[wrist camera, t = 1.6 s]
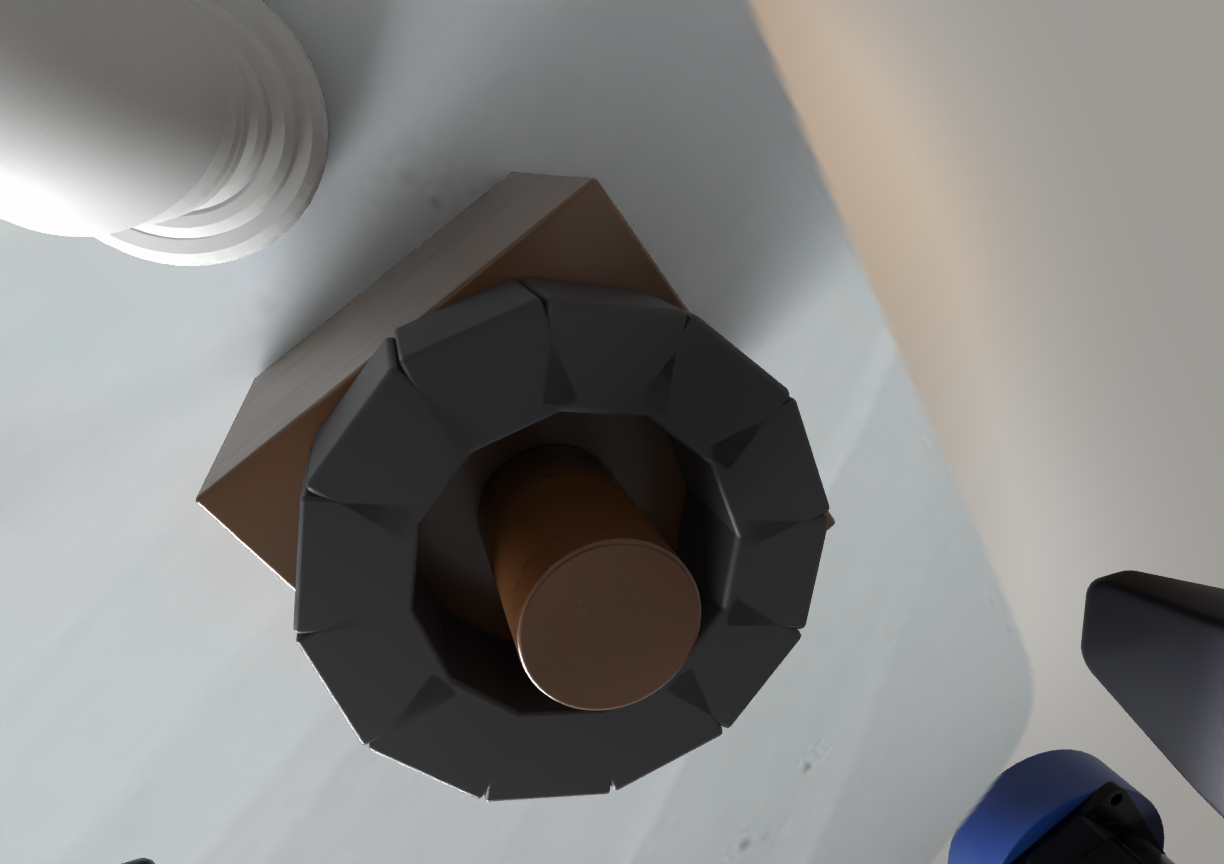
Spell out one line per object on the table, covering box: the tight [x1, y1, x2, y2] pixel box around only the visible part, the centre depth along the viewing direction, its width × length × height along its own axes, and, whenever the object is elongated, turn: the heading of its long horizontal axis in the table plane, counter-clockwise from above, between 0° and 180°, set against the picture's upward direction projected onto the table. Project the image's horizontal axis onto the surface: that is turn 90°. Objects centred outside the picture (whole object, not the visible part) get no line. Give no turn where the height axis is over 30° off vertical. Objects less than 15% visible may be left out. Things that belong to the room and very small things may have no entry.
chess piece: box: [0, 0, 329, 266], centre depth 12 cm, size 5×5×9 cm
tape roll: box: [294, 277, 829, 801], centre depth 12 cm, size 7×7×2 cm
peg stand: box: [196, 172, 835, 711], centre depth 15 cm, size 7×7×10 cm
